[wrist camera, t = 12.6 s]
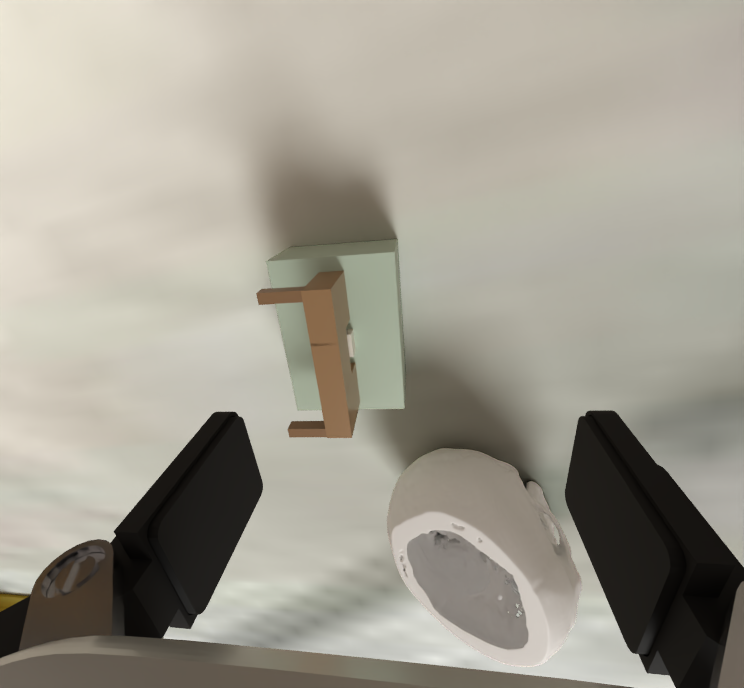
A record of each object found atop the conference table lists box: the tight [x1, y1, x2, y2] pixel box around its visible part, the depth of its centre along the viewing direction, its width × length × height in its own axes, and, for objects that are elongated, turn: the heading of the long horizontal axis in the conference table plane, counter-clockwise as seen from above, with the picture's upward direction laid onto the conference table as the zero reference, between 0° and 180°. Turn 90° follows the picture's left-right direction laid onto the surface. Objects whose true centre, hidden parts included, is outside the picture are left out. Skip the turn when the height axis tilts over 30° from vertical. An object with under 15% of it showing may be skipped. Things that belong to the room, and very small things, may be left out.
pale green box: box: [266, 239, 406, 411], centre depth 33 cm, size 14×10×7 cm
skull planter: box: [387, 448, 582, 667], centre depth 39 cm, size 14×20×19 cm
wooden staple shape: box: [256, 271, 360, 438], centre depth 29 cm, size 12×5×5 cm, turn 5°
